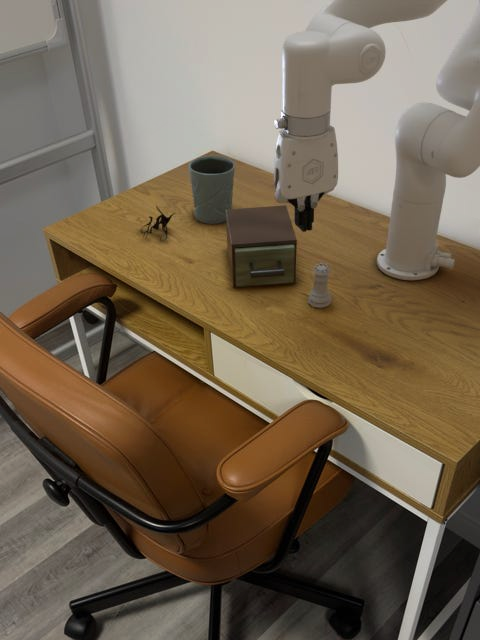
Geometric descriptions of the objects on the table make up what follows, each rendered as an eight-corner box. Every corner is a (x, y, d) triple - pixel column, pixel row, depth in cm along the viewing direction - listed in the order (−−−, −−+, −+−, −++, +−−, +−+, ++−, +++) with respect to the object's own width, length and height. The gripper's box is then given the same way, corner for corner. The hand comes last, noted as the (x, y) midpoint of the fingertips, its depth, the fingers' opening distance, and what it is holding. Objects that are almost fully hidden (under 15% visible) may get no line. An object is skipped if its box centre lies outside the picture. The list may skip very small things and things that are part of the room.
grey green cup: (186, 211, 166) (181, 160, 157) (225, 201, 169) (223, 151, 160) (203, 229, 159) (199, 177, 151) (243, 219, 162) (242, 168, 154)
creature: (158, 249, 155) (183, 229, 158) (152, 230, 151) (177, 209, 154) (134, 238, 159) (158, 218, 162) (127, 219, 154) (152, 199, 157)
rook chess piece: (330, 310, 134) (332, 273, 129) (306, 308, 135) (308, 271, 129) (332, 297, 137) (334, 261, 132) (309, 295, 138) (311, 259, 133)
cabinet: (295, 283, 142) (296, 239, 135) (233, 287, 141) (231, 244, 134) (285, 247, 152) (286, 205, 146) (227, 251, 152) (225, 209, 145)
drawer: (296, 294, 137) (298, 259, 131) (238, 299, 136) (237, 263, 131) (284, 248, 150) (284, 214, 144) (230, 252, 149) (229, 218, 144)
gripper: (272, 139, 107) (273, 247, 119) (359, 120, 110) (351, 227, 123) (253, 122, 112) (256, 227, 124) (337, 105, 115) (332, 209, 128)
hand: (303, 227), depth 124 cm, fingers closed
